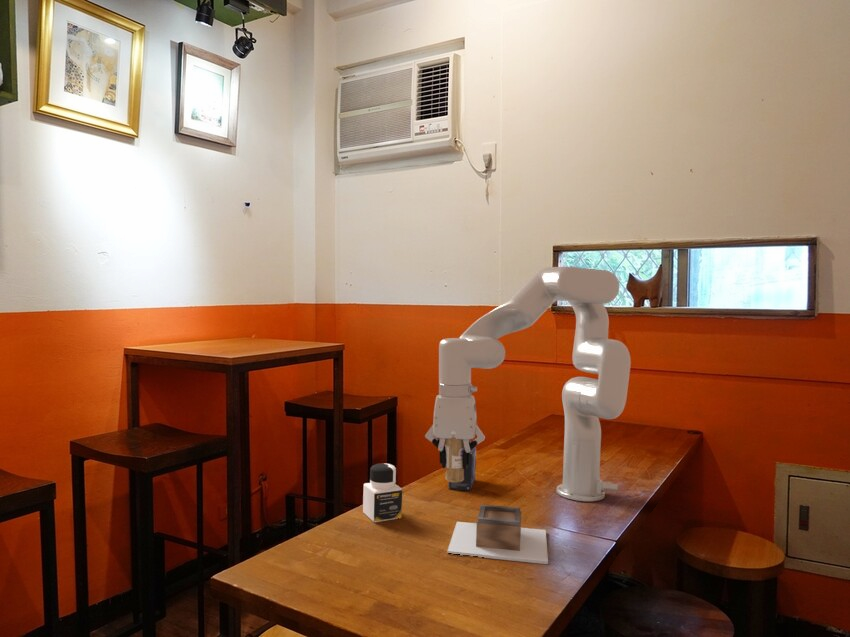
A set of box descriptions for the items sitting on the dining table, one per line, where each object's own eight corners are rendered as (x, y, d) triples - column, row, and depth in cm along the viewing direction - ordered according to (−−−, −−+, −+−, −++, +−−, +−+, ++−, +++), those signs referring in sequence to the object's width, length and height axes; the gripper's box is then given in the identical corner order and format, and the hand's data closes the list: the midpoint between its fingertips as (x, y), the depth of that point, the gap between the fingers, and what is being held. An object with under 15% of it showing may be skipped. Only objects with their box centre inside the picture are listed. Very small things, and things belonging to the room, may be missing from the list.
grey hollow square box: (520, 533, 128) (521, 507, 128) (519, 551, 119) (520, 523, 119) (479, 529, 129) (480, 503, 129) (475, 546, 120) (476, 518, 120)
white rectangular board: (545, 532, 130) (545, 529, 130) (547, 564, 115) (547, 561, 115) (456, 524, 134) (456, 521, 134) (447, 553, 118) (447, 550, 118)
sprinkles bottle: (460, 484, 135) (460, 426, 135) (442, 481, 137) (442, 425, 136) (466, 478, 139) (466, 422, 139) (448, 476, 141) (448, 421, 140)
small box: (471, 491, 157) (472, 453, 156) (447, 489, 158) (449, 451, 158) (476, 479, 167) (477, 443, 167) (453, 478, 168) (454, 442, 168)
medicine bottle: (373, 523, 133) (375, 471, 133) (362, 512, 139) (363, 463, 139) (402, 518, 136) (403, 467, 136) (389, 508, 143) (390, 459, 142)
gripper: (491, 389, 139) (491, 464, 140) (422, 387, 142) (422, 460, 143) (489, 394, 132) (489, 474, 133) (416, 392, 135) (416, 470, 136)
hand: (454, 466), depth 138 cm, fingers closed on sprinkles bottle, 4 cm apart
